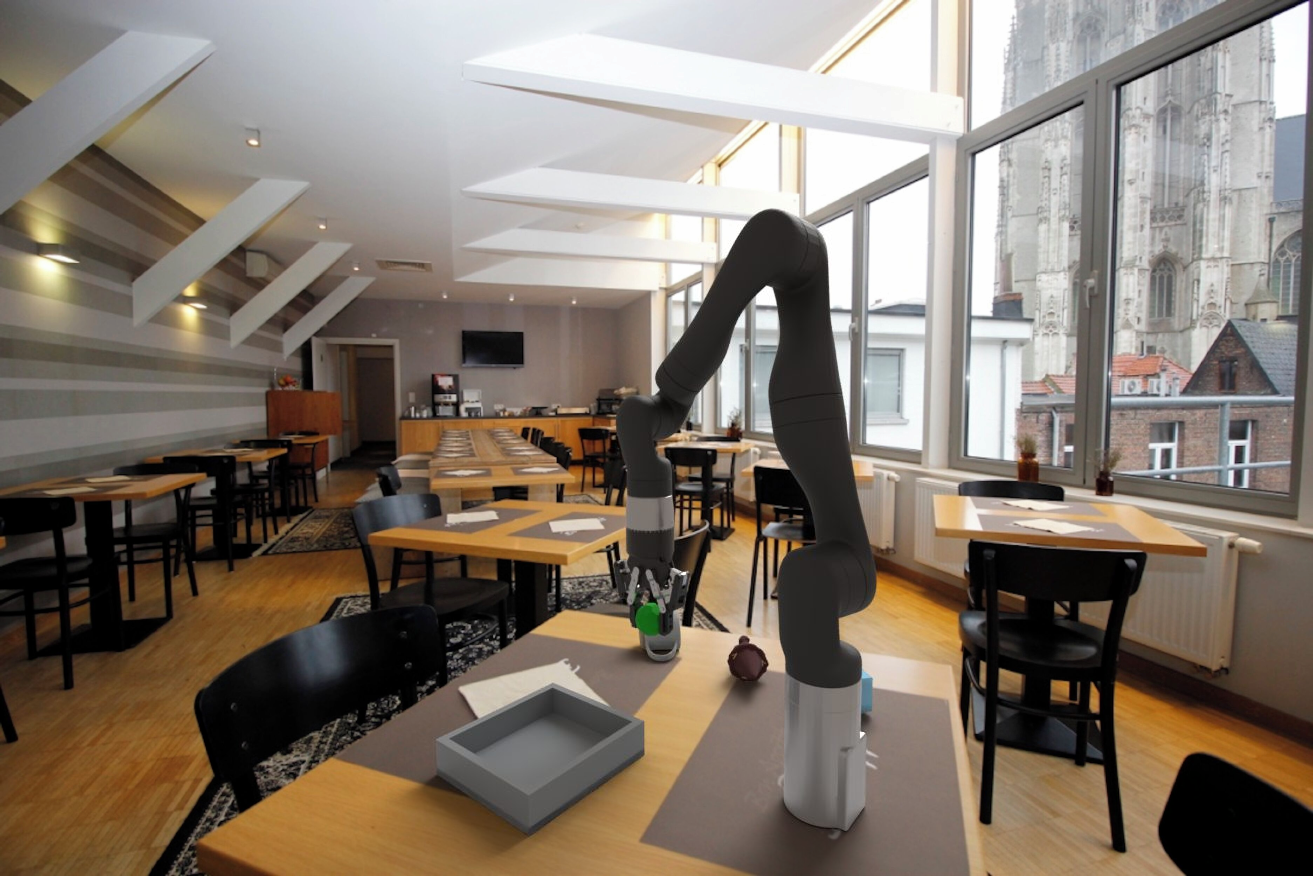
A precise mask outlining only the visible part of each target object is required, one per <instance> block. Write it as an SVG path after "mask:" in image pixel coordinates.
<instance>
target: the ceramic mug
mask: <svg viewBox="0 0 1313 876" xmlns="http://www.w3.org/2000/svg"><path fill="white" fill-rule="evenodd" d="M680 623H681V622H680V616H679V612H678V609H677V610H675V611H673V630H672V631H671V633H670V634H668V635H666V636H662V635H660V634H657V635H655V636H647V635H646V634H644V633H643V632H641V631H640V630H639V629H638V638H639V644H640V648H641V649H642V650H645V651H646V652H647V655H648V657H649V658H650V659H652V660H654V661H657V662H666V661H670V660H671V659H673V658H674V656H676V655H675V654H676V653H677V650H680V649H681V643H682V641H681V640H682V639H681V638H682V637H681V635H682V633H681V632H682V631H681V624H680ZM658 650H663V651H664V650H671V651H670V652H669V653H667V654H656V653H654V652H653V651H658Z"/></svg>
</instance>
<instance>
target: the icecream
mask: <svg viewBox="0 0 1313 876" xmlns="http://www.w3.org/2000/svg"><path fill="white" fill-rule="evenodd" d="M750 641H751V639H750V637H748V635H744V634H743V635H741V636H740V637H739V638H738V644H737V645H734V647H733V649H731V651H730V653H729V654H728V656H727V657H728V658H727V659H726V662H727V664H728V665H727V666H728V669H729V673H730V674H731V675H732V677H734V678H736V679H738V680H740V682H742V681H743V683H746V682H745V681H748V682H757V681H758V680H760V678H761V677H762V676H763V675H765V673H767V671H768V667H769V666H770V664H769V660H768V658H767V657H766V654H765V652H764V650H763V649H762V648H760V647H759V646H757V645H756V644H755V643H750Z"/></svg>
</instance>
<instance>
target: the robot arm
mask: <svg viewBox="0 0 1313 876" xmlns="http://www.w3.org/2000/svg"><path fill="white" fill-rule="evenodd" d="M829 269H830V268H829V253H828V247H827V243H826V241H825V237H824V235H823V234H822V233H821V231H820V230H819V229H818V227H816V226H815V225H814V224H813V223H812V222H810V221H807V220H805V219H803V218H801V217H800V216H797V215H795V214H792V213H790V212H788V211H786V210H783V209H781V208H767V209H763V210H761V211H759V212H757V213H756V214H754V215H753V216H752V217H750V219H749V220H748V221H747V222H746V223H745V225H744V226H743V228H742V229H741V230H740V232H739V233H738V235H737V236H736V239H735V240H734V242H733V244H732V245H731V248H730V249H729V252H728V253H727V255H726V257H725V259H724V261H723V263H722V265H721V266H720V269H719V271H718V272H717V275H716V276H715V278H714V280H713V282H712V284H711V285H710V288H709V289H708V292H707V294H706V296H705V298H704V299H703V301H702V303H701V305H700V306H699V309H698V311H697V312H696V314H695V315H694V317H693V319H692V320H691V321H690V324H689V325H688V327H687V328H686V330H685V331H684V332H683V334H682V335H681V337H680V338H679V339H678V341H677V342H676V343H675V345H674V346H673V347H672V349H671V350H669V353H668V354H667V355H666V357H665V358H664V359H663V361H662V362H661V363H660V364H659V366H658V368H657V369H656V372H655V375H654V381H655V385H656V386H657V388H658V389H659V390H658V391H657V392H656V393H655V394H654V395H652V394H651V395H649V394H646V395H642V394H641V395H639V394H637V395H631V396H628V397H625V398H624V399H623V400H622V401H621V403H620V404H619V406H618V408H617V410H616V416H615V429H616V436H617V439H618V442H619V445H620V451H621V454H622V457H623V461H624V464H625V466H626V467H625V468H626V505H625V551H626V553H627V555H628V557H627V558H623V559H620V560H617V561H614V562H613V570H614V571H613V572H614V576H615V582H616V587H617V592H618V596H619V599H625V600H626V603H627V604H628V605H629V621H630V625H631V628H635V629H638V628H637V626H636V623H635V617H636V614H637V611H638V610H639V609H640V608H641V607H642V606H643V605H644V602H642V600H643V598H644V595H645V592H646V590H647V589H648V590H650V591H651V593H652V595H653V598H654V599H656V602H657V605H658V606H659V609H660V611H661V612H659V634H660V635H662V636H666V635H668V634H670V633H671V631H672V630H673V611H675V610H677V611H678V610H680V609H682V608H683V607H685V603H686V599H687V598H686V597H687V594H688V589H689V585H690V578H691V573H690V572H689V571H688V570H685V571H681V570H679V569H677V568H675V563H674V561H673V555H674V551H675V511H674V510H675V508H674V501H673V468H672V463H671V461H670V460H669V459H668V458H666V457H665V456H661V455H658V454H657V450H656V447H655V442H654V441H662V440H666V439H669V438H670V437H672V436H674V435H675V434H676V433H677V432H678V431H679V430H680V428H681V427H682V426H683V425H684V423H685V421H686V420H687V417H688V415H689V412H690V411H691V408H692V407H693V404H694V402H695V399H696V397H697V395H698V394H700V392H701V391H702V390H703V388H705V386H706V385H707V384H708V382H710V380H711V379H712V378H713V376H714V375H715V374H716V372H717V371H718V370H719V368H720V367H721V366H722V364H723V362H724V359H725V358H726V356H727V353H728V350H729V347H730V344H731V341H732V337H733V335H734V334H733V333H734V330H735V328H736V325H737V323H738V320H739V318H740V317H741V315H742V313H743V312H744V310H745V309H746V308H747V307H748V305H749V304H750V302H751V301H753V299H755V298H756V296H757V295H758V294H759V293H760V292H761V291H762V290H763V289H765V287H770V288H772V291H773V295H774V297H775V302H776V303H775V304H776V309H777V315H778V316H777V317H778V321H779V324H778V325H779V341H778V345H777V350H776V354H775V357H774V361H773V365H772V368H771V373H770V377H769V380H768V381H769V382H768V388H767V396H768V397H767V398H768V406H769V415H770V420H771V428H772V435H773V439H774V444H775V446H776V449H777V451H778V452H779V455H780V457H781V459H782V460H783V462H784V463H785V464H786V466H787V468H788V469H789V470H790V473H791V474H792V475H793V477H794V478H795V480H796V481H797V483H798V485H799V486H800V488H801V489H802V492H804V495H805V497H806V499H807V502H808V504H809V507H810V510H811V515H812V519H813V526H814V533H815V544H809V545H805V546H801V547H800V546H799V547H797V548H794V549H791V550H789V552H787V553H786V554H785V556H784V557H783V559H782V560H781V563H780V565H779V569H778V574H777V587H776V588H777V589H776V590H777V608H778V609H777V610H778V611H777V613H778V637H779V643H780V646H781V650H782V652H783V656H784V662H785V663H784V665H785V667H784V669H785V670H784V721H783V722H784V726H783V727H784V732H783V737H784V738H783V739H784V741H783V743H784V744H783V745H784V747H783V784H782V785H783V802H784V805H785V807H786V808H787V810H788V812H790V813H791V814H792V815H793V816H794V817H796V818H797V819H798V820H801V821H802V822H804V823H807V824H809V825H813V826H816V827H821V828H835V829H836V828H837V829H840V830H842V831H845V832H847V831H849V829H850V828H851V827H852V825H853V823H854V822H855V820H856V819H857V817H858V816H859V815H860V814H861V812H862V811H863V809H864V808H865V806H866V778H867V777H866V776H867V775H866V771H867V770H866V769H867V734H866V733H865V732H863V731H861V730H862V729H861V728H862V725H861V724H862V714H861V692H862V669H863V659H862V655H861V653H860V651H859V650H858V649H857V648H856V647H855V646H854V645H853V644H850V643H848V642H846V641H844V640H841V639H840V635H841V634H840V619H841V618H844V617H848V616H851V615H855V614H858V613H859V612H862V611H864V610H865V609H866V608H868V607H869V606H870V605H871V603H872V602H873V601H874V598H875V596H876V593H877V587H878V586H877V585H878V583H877V582H878V580H877V579H878V578H877V569H876V563H875V558H874V555H873V550H872V546H871V544H870V540H869V539H870V538H869V535H868V532H867V527H866V523H865V520H864V516H863V511H862V508H861V507H862V506H861V503H860V498H859V492H858V487H857V481H856V476H855V469H854V464H853V457H852V452H851V451H852V450H851V447H850V439H849V438H850V437H849V432H848V431H849V430H848V420H847V414H846V406H845V400H844V399H845V398H844V394H843V388H842V387H843V386H842V382H841V377H840V371H839V364H838V359H837V349H836V344H835V338H834V336H835V335H834V332H833V324H832V316H831V315H832V313H831V301H830V300H831V298H830V297H831V296H830V295H831V294H830V273H829ZM662 588H663V589H662ZM661 589H662V590H661Z"/></svg>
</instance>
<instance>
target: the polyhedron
mask: <svg viewBox="0 0 1313 876" xmlns="http://www.w3.org/2000/svg"><path fill="white" fill-rule="evenodd" d="M659 612H661V611H660V609H659V606H658V603H657V604H656V603H655V602H646V603H645V604H643V606H642V607H641V608H640V609H639V610H638V611H637V614H636V617H635V623H636V626H637V628H636V629H638V631H639V630H640V631H641V632H643V633H644V634H646V635H647V636H655V635H657V634H659Z"/></svg>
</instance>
